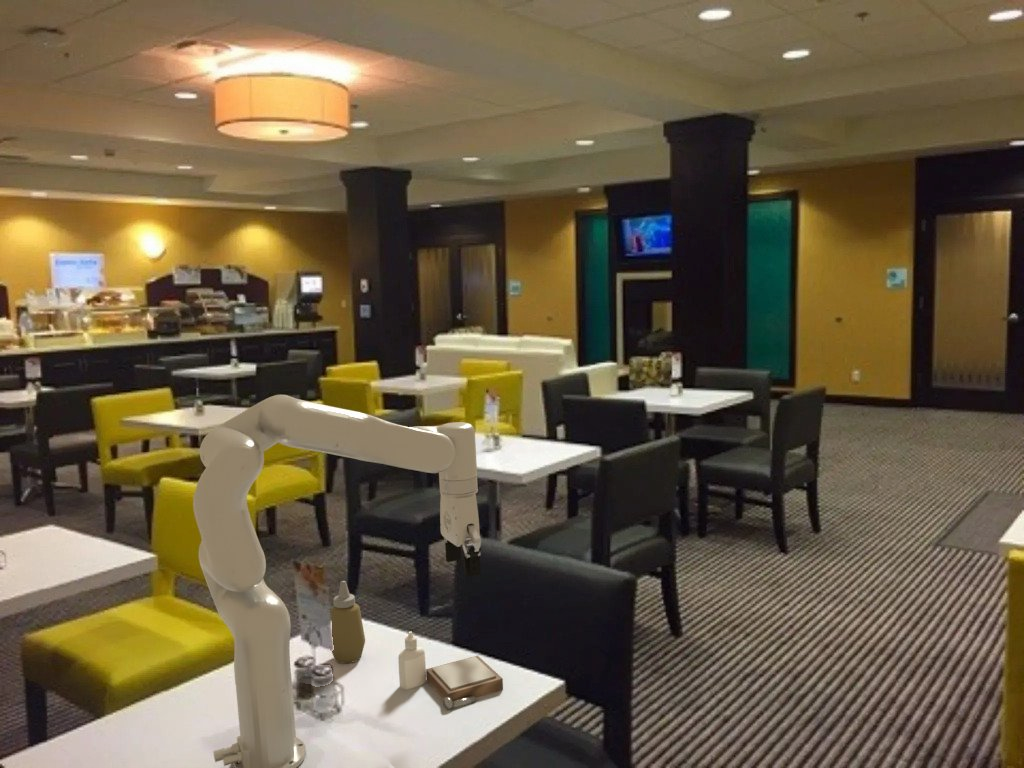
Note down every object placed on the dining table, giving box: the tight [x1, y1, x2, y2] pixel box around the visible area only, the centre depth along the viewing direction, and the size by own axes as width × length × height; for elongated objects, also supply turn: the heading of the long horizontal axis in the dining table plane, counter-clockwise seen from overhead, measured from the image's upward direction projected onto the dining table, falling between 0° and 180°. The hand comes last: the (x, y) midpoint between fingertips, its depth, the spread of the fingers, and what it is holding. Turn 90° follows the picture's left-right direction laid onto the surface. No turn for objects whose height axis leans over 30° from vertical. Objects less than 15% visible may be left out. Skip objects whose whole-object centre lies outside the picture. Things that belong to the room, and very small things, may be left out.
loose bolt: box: [442, 696, 476, 711], centre depth 171 cm, size 6×3×3 cm
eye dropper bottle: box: [397, 630, 427, 690], centre depth 179 cm, size 4×6×12 cm
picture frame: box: [426, 655, 504, 701], centre depth 179 cm, size 12×12×3 cm
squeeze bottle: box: [329, 580, 366, 664], centre depth 193 cm, size 8×8×18 cm
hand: (463, 567), depth 173 cm, fingers open, 9 cm apart
